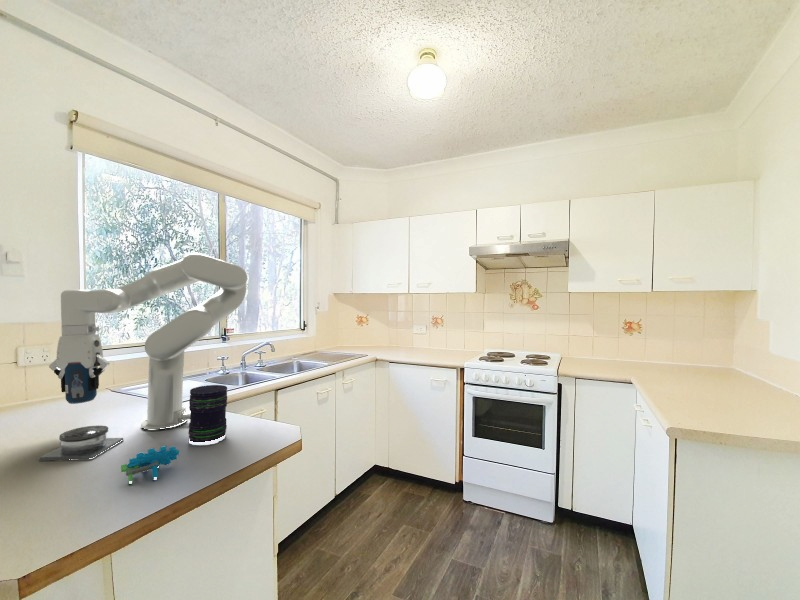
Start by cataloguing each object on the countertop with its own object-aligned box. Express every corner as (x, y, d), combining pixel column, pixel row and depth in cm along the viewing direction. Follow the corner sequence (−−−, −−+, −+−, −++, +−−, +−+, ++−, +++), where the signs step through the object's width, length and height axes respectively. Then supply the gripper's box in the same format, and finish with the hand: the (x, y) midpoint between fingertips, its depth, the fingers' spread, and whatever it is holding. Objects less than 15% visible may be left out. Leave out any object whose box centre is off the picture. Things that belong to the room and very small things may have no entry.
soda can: (91, 396, 111) (90, 358, 111) (100, 399, 107) (99, 360, 107) (61, 402, 105) (60, 362, 105) (71, 405, 101) (69, 364, 101)
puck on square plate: (123, 441, 101) (123, 423, 101) (91, 459, 89) (92, 440, 89) (77, 442, 100) (77, 424, 100) (39, 461, 88) (39, 441, 88)
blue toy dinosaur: (180, 456, 89) (176, 438, 83) (183, 479, 86) (179, 463, 79) (125, 472, 83) (116, 455, 77) (126, 498, 80) (116, 482, 73)
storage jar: (209, 448, 98) (211, 394, 98) (179, 444, 100) (181, 391, 100) (233, 435, 108) (234, 386, 108) (205, 432, 110) (206, 383, 110)
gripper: (118, 329, 110) (120, 386, 111) (57, 330, 108) (59, 388, 109) (101, 331, 103) (102, 392, 103) (35, 332, 101) (36, 395, 101)
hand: (80, 389), depth 106 cm, fingers closed on soda can, 6 cm apart
